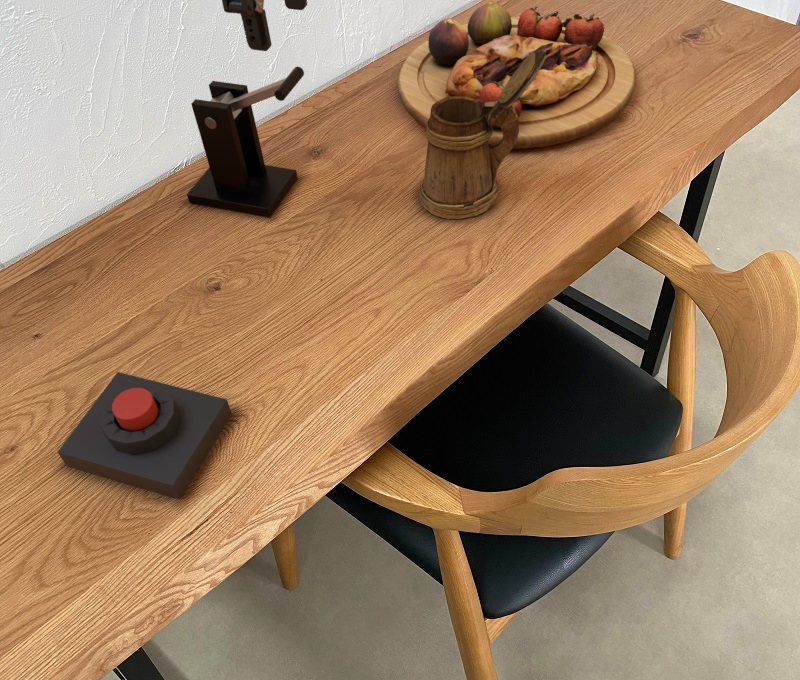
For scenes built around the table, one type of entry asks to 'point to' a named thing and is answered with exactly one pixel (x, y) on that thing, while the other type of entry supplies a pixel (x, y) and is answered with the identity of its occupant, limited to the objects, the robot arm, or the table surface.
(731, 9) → the table surface
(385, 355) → the table surface
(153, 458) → the button box
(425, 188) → the wooden mug
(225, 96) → the lever
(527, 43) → the wooden plate
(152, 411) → the button
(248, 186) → the bracket
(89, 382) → the table surface
